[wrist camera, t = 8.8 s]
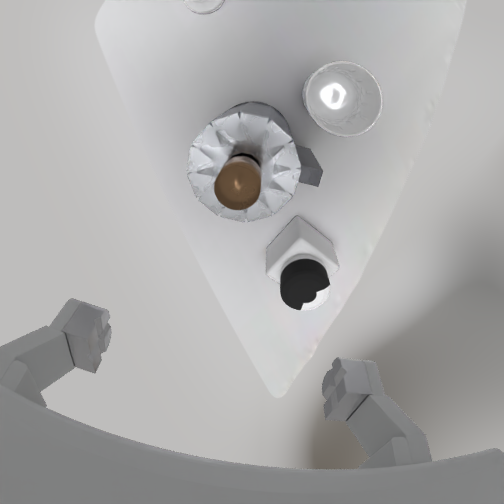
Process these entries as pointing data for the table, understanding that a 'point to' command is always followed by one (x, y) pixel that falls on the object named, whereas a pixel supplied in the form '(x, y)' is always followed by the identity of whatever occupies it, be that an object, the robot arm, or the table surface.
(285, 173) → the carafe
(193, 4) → the chess pawn
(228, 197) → the plunger
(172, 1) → the table surface
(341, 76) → the white cup
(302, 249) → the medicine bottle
